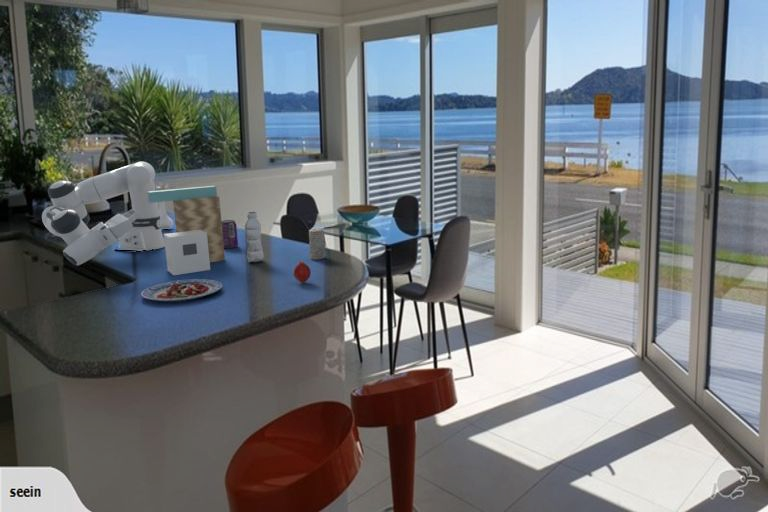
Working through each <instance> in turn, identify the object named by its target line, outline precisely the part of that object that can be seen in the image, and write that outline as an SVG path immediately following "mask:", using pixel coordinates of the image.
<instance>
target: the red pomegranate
mask: <svg viewBox="0 0 768 512" xmlns="http://www.w3.org/2000/svg"><path fill="white" fill-rule="evenodd" d="M293 276H294V278H295V279H296V280H297V281H298V282H299V283H301V284H305V283H306V282H307V281H308V280H309V279H310V277H311V268H310V267H309V265H307V264H306V263H304V261H303V260H299V263H298V264H296V265H295V267H294V269H293Z"/></svg>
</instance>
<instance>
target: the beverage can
mask: <svg viewBox="0 0 768 512" xmlns="http://www.w3.org/2000/svg"><path fill="white" fill-rule="evenodd" d="M221 222H222V233H223V243H224V249H234V247H235V248H237V247H238V246H239V240H238V228H237V223H236V220H235V219H225V220H221Z"/></svg>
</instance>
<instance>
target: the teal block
mask: <svg viewBox="0 0 768 512" xmlns="http://www.w3.org/2000/svg"><path fill="white" fill-rule="evenodd" d="M215 196H218V193H217V186H215V185H207V186H195V187H194V186H193V187H183V188H177V189H171V190H160V191H149V192H148V201H149V202H150V203H154V202H157V203H159V202H164V201H165V202H173V201H174V200H184V199H195V198H205V197H215Z"/></svg>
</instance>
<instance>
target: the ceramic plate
mask: <svg viewBox="0 0 768 512" xmlns="http://www.w3.org/2000/svg"><path fill="white" fill-rule="evenodd" d="M222 288H223V284H222V283H221V282H220V281H217V280H215V279H214V280H213V279H202V278H201V279H200V278H192V279H182V280H181V279H180V280H173V281H167V282H163V283H158V284H156V285H152V286H149V287H147V288H146V289H143V290H142V291H141V297H142V298H145V300H146V299H147V300H152V301H161V302H167V303H168V302H170V303H173V302H176V303H177V302H185V301H192V300H196V299H201V298H203V297H206V296H207V295H210V294H211V295H212V294H214V293H216V292H217V291H219V290H220V289H222Z"/></svg>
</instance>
